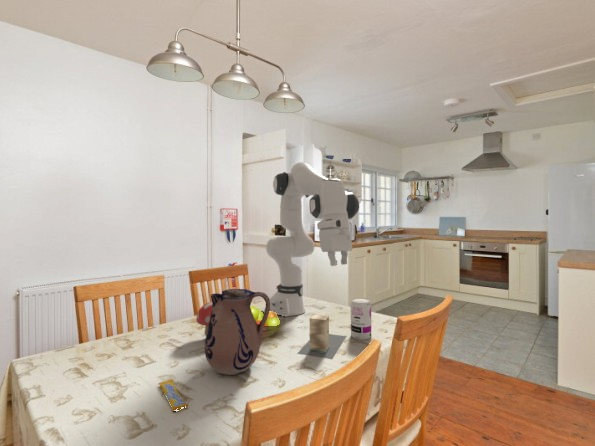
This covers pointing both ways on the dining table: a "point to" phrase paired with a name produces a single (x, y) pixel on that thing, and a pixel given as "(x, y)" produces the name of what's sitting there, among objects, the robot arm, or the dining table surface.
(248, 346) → the ceramic pitcher
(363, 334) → the supplement can
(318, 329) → the block
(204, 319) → the decorative mushroom
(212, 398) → the dining table surface
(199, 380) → the dining table surface
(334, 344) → the mat
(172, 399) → the candy bar
